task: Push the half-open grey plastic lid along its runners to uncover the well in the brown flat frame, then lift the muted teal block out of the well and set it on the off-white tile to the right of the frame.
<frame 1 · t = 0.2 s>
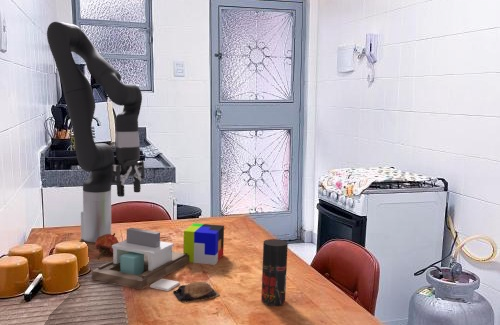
hand: (129, 194, 158), 17 cm above the table, tool pointing down, fingers open, 8 cm apart
puzzle toy: (203, 259, 150), on the table, touching brown flat frame
bread roll: (196, 296, 122), on the table
cover: (143, 246, 136), point 7 cm above the table, slide at 0.0 cm
block: (132, 275, 133), resting in brown flat frame
deodorant: (273, 302, 119), on the table
pad: (164, 285, 126), on the table
pomegranate: (107, 257, 149), on the table
brown flat frame: (144, 269, 138), on the table
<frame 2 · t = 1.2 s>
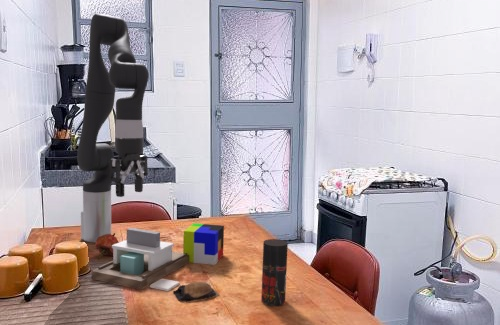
hand: (129, 194, 134), 22 cm above the table, tool pointing down, fingers open, 8 cm apart
puzzle toy: (203, 260, 150), on the table
everything else where it was.
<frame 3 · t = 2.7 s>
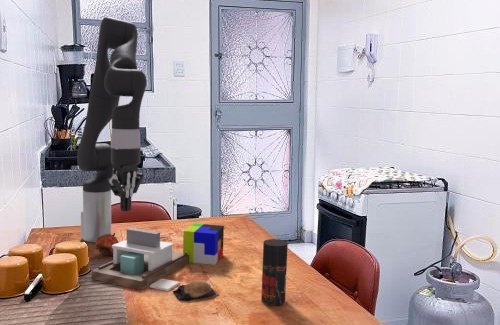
hand: (125, 210, 128), 19 cm above the table, tool pointing down, fingers closed
puzzle toy: (203, 260, 150), on the table, touching brown flat frame
everything else where it was.
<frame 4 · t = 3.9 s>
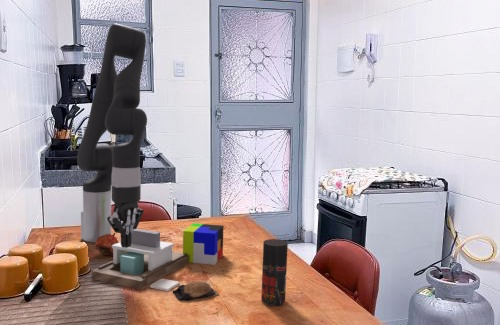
hand: (126, 246, 129), 9 cm above the table, tool pointing down, fingers closed
nothing on the table moved.
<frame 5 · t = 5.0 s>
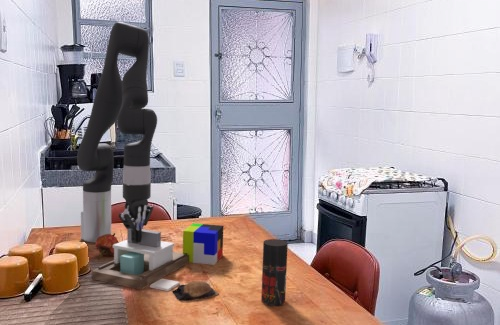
hand: (136, 242, 134), 9 cm above the table, tool pointing down, fingers closed
cover: (143, 246, 137), point 7 cm above the table, slide at 0.4 cm, touching gripper
everything else where it was.
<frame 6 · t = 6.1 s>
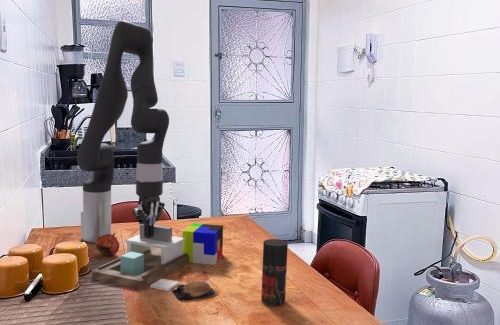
hand: (148, 237, 139), 9 cm above the table, tool pointing down, fingers closed
cover: (155, 241, 142), point 7 cm above the table, slide at 6.3 cm, touching gripper
everything else where it was.
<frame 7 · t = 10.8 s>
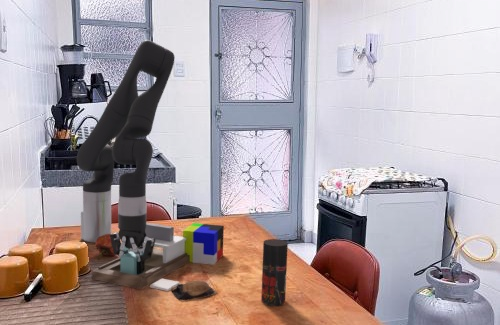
hand: (132, 271, 133), 1 cm above the table, tool pointing down, fingers closed on block, 4 cm apart
cover: (157, 240, 143), point 7 cm above the table, slide at 7.1 cm
block: (132, 275, 133), resting in brown flat frame, touching gripper
when the fingers open (3 cm above the table, at t = 16.0 s): block drops 2 cm, resting on pad.
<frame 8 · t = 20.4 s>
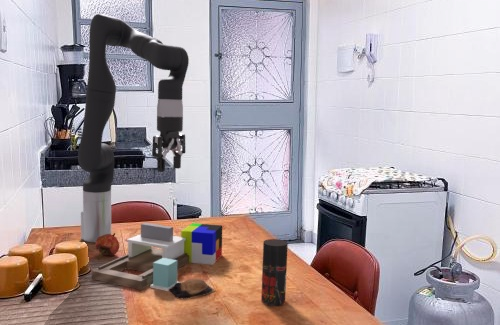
hand: (169, 169, 142), 28 cm above the table, tool pointing down, fingers open, 8 cm apart
bread roll: (191, 293, 124), on the table
cover: (156, 240, 143), point 7 cm above the table, slide at 6.8 cm
block: (165, 283, 126), point 1 cm above the table, touching pad
everything else where it was.
at the end: cover slide at 6.8 cm; block 0.1 cm off-centre on the pad, point 0.6 cm above the pad's base; the gripper is holding nothing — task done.
